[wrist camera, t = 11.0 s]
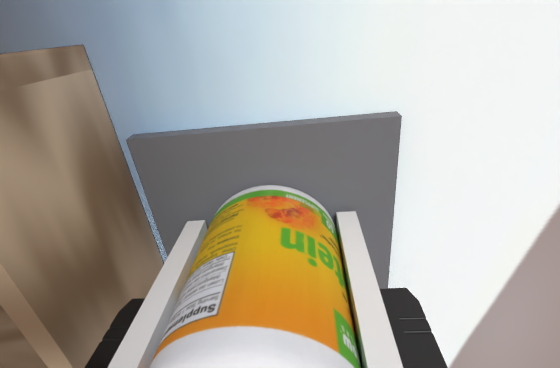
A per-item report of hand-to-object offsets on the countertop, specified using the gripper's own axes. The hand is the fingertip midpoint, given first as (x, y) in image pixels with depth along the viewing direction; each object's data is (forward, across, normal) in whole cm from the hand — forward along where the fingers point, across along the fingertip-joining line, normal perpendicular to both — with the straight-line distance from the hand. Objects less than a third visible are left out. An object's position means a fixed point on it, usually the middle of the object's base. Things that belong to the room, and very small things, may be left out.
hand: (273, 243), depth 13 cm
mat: (+1, 0, 0) cm, 1 cm away
